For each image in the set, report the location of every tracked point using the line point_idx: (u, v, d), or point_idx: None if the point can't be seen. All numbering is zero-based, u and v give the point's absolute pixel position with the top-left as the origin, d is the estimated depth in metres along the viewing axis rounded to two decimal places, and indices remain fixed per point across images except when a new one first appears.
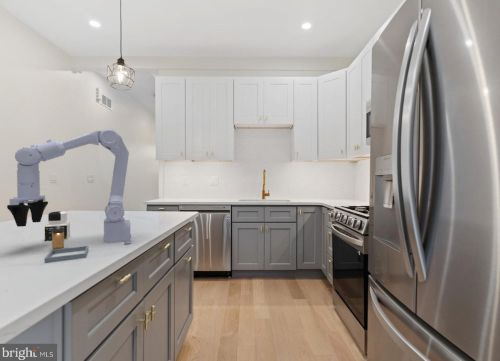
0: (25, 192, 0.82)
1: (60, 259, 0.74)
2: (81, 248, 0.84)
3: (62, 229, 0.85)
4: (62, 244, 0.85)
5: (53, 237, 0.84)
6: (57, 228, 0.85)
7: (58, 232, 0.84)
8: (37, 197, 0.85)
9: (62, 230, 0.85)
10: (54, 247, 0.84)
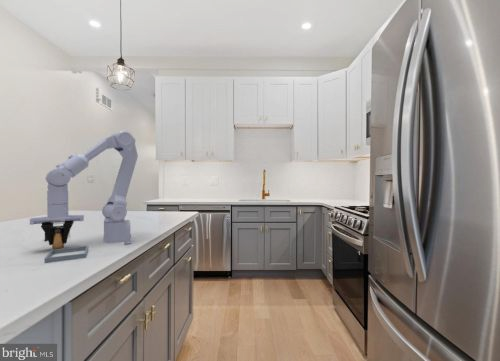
0: (47, 212, 0.84)
1: (60, 259, 0.74)
2: (81, 248, 0.84)
3: (62, 229, 0.85)
4: (62, 244, 0.85)
5: (53, 237, 0.84)
6: (57, 228, 0.85)
7: (58, 232, 0.84)
8: (54, 218, 0.83)
9: (62, 230, 0.85)
10: (54, 247, 0.84)
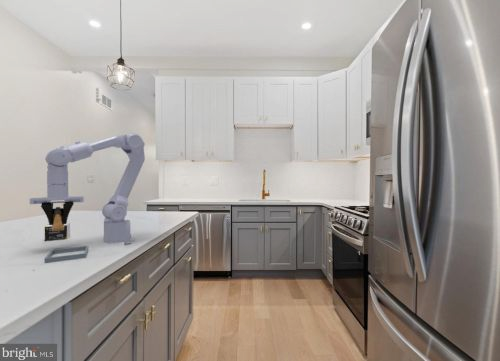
0: (47, 192, 0.83)
1: (60, 259, 0.74)
2: (81, 248, 0.84)
3: (62, 210, 0.85)
4: (62, 225, 0.85)
5: (53, 217, 0.84)
6: (57, 208, 0.84)
7: (58, 212, 0.84)
8: (53, 198, 0.83)
9: (62, 211, 0.85)
10: (54, 227, 0.84)
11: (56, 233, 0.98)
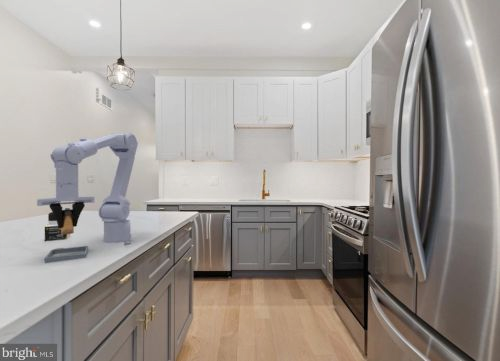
0: (57, 192, 0.76)
1: (60, 259, 0.74)
2: (81, 248, 0.84)
3: (73, 211, 0.79)
4: (73, 227, 0.79)
5: (63, 219, 0.77)
6: (68, 210, 0.78)
7: (69, 214, 0.78)
8: (67, 198, 0.76)
9: (73, 212, 0.79)
10: (65, 230, 0.78)
11: (56, 233, 0.98)
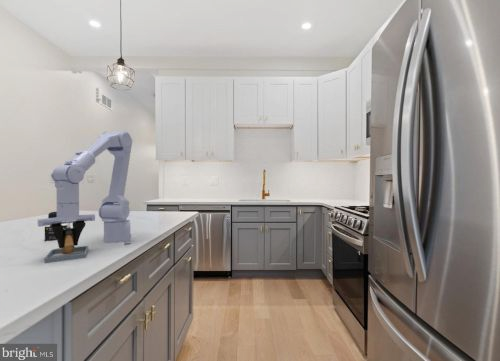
0: (57, 212, 0.76)
1: (60, 259, 0.74)
2: (81, 248, 0.84)
3: (73, 230, 0.79)
4: (73, 246, 0.79)
5: (64, 239, 0.77)
6: (68, 229, 0.78)
7: (70, 233, 0.78)
8: (68, 218, 0.76)
9: (73, 231, 0.79)
10: (66, 250, 0.77)
11: None
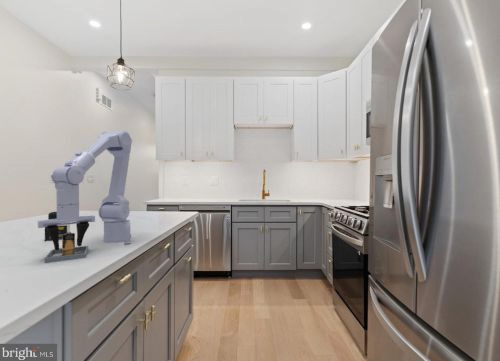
0: (57, 214, 0.76)
1: (60, 259, 0.74)
2: (81, 248, 0.84)
3: (74, 235, 0.79)
4: (74, 251, 0.79)
5: (65, 244, 0.77)
6: (69, 234, 0.78)
7: (71, 238, 0.78)
8: (68, 220, 0.76)
9: (74, 236, 0.79)
10: None
11: None
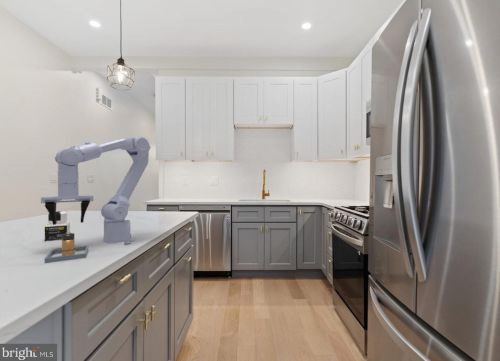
0: (58, 191, 0.84)
1: (60, 259, 0.74)
2: (81, 248, 0.84)
3: (73, 235, 0.79)
4: (73, 251, 0.79)
5: (64, 244, 0.77)
6: (68, 234, 0.78)
7: (70, 238, 0.78)
8: (64, 197, 0.83)
9: (73, 236, 0.79)
10: None
11: (56, 233, 0.98)
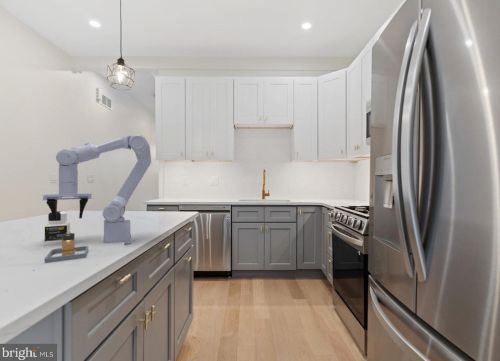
0: None
1: (60, 259, 0.74)
2: (81, 248, 0.84)
3: (74, 235, 0.79)
4: (73, 251, 0.79)
5: (64, 244, 0.77)
6: (69, 234, 0.78)
7: (70, 238, 0.78)
8: (64, 195, 0.90)
9: (74, 236, 0.79)
10: None
11: (56, 233, 0.98)
